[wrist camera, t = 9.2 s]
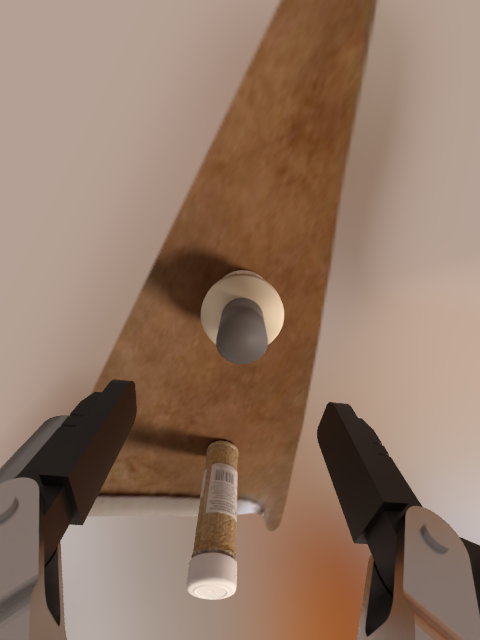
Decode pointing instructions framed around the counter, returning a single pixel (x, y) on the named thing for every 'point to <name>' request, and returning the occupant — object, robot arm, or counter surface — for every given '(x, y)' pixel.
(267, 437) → the counter surface
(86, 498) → the robot arm
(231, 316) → the lid
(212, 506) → the sprinkles bottle
